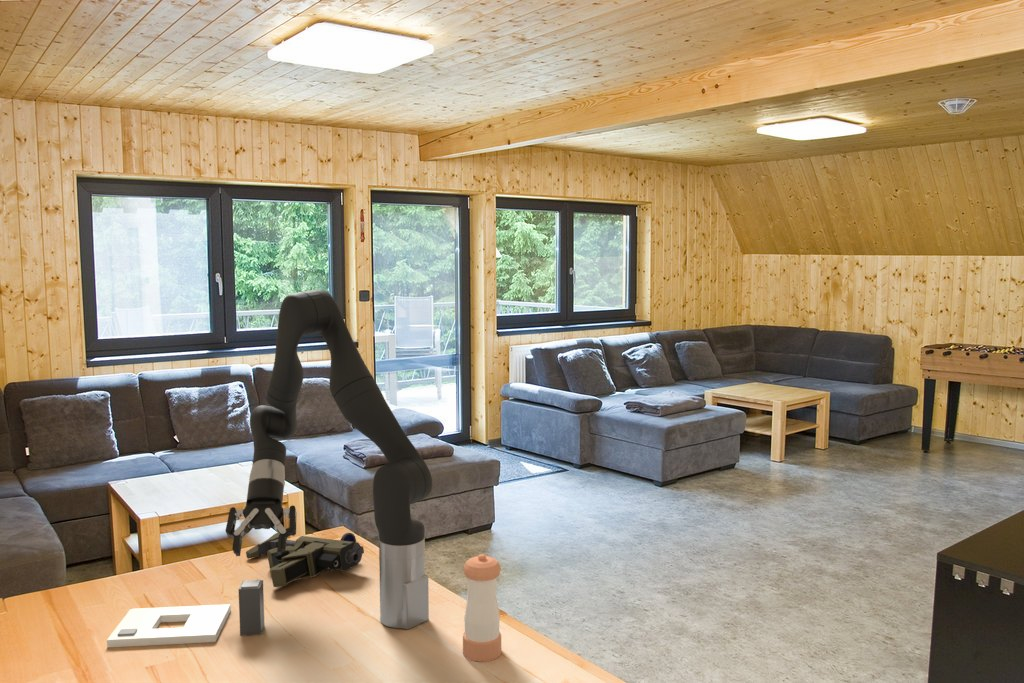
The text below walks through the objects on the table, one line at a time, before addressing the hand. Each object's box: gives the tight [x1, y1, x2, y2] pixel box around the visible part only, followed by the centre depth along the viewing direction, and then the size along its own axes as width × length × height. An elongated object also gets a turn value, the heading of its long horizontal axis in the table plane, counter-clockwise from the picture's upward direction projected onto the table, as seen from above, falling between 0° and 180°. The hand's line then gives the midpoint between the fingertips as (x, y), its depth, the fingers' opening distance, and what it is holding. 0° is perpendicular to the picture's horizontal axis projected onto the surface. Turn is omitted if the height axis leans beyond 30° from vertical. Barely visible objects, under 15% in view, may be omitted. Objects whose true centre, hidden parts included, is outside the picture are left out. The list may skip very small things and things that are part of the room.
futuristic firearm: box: [245, 532, 365, 588], centre depth 200 cm, size 7×31×25 cm
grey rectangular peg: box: [238, 579, 265, 636], centre depth 167 cm, size 4×4×10 cm
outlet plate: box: [106, 603, 232, 648], centre depth 169 cm, size 20×14×2 cm
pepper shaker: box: [462, 553, 502, 663], centre depth 158 cm, size 7×7×19 cm
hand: (258, 554), depth 175 cm, fingers open, 8 cm apart
